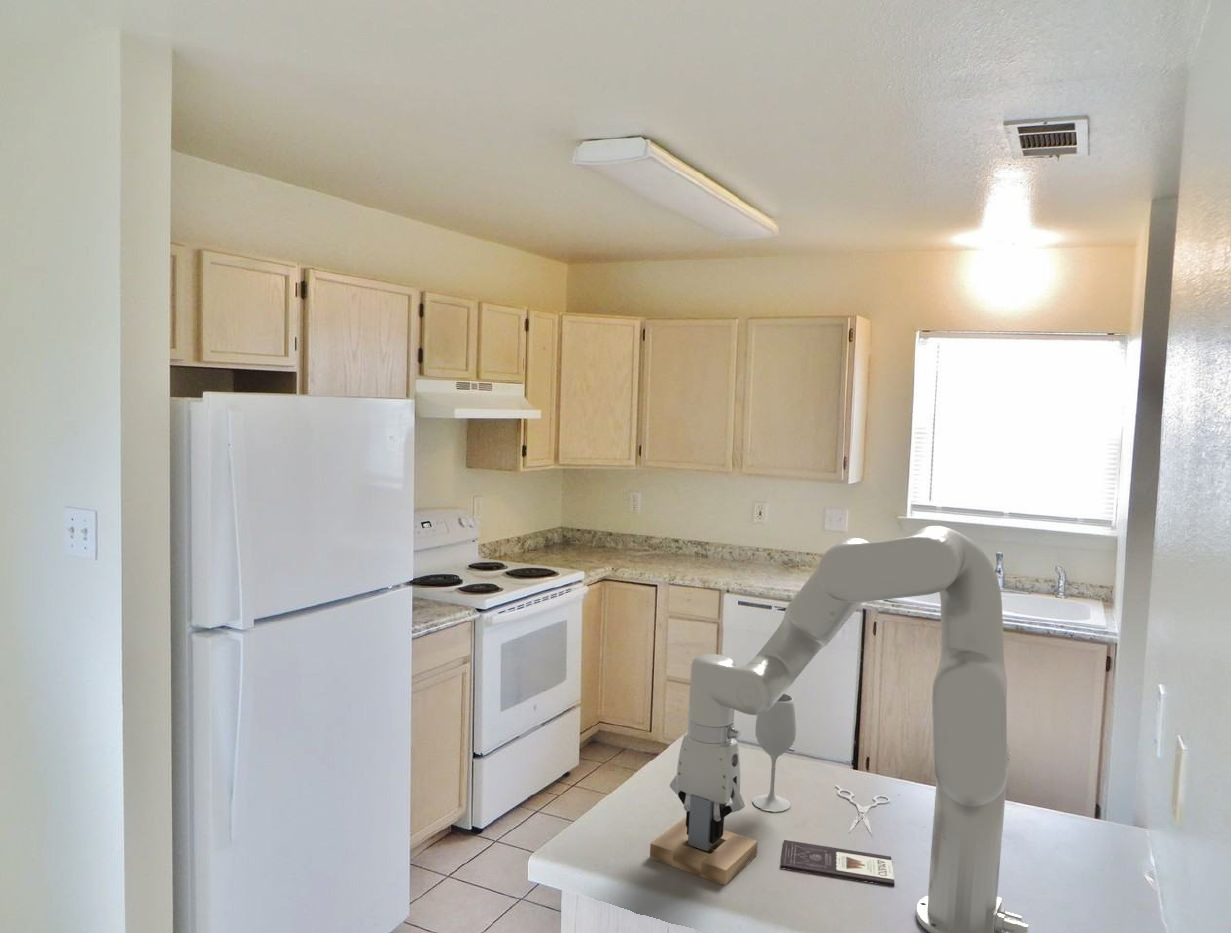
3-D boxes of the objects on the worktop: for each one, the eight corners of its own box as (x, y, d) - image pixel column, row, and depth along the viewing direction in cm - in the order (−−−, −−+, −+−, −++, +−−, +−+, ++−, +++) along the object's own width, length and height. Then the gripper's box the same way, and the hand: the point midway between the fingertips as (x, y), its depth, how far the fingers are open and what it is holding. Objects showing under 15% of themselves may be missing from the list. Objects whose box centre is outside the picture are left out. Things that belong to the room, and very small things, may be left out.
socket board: (756, 855, 151) (757, 840, 151) (725, 885, 141) (726, 870, 141) (684, 830, 159) (685, 816, 159) (649, 857, 149) (650, 843, 149)
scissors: (889, 793, 178) (891, 837, 159) (889, 796, 178) (891, 842, 159) (835, 784, 181) (830, 827, 162) (835, 788, 181) (830, 831, 162)
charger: (719, 840, 151) (722, 790, 150) (707, 850, 147) (710, 799, 146) (700, 834, 153) (703, 784, 152) (687, 844, 149) (690, 793, 148)
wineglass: (743, 798, 173) (749, 692, 172) (776, 792, 176) (782, 688, 175) (766, 815, 166) (772, 705, 165) (799, 809, 169) (805, 701, 168)
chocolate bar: (784, 839, 156) (891, 856, 152) (783, 844, 156) (890, 861, 152) (781, 864, 147) (894, 883, 143) (780, 870, 147) (894, 889, 143)
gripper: (765, 735, 147) (758, 842, 148) (677, 712, 156) (672, 813, 157) (746, 749, 141) (739, 861, 142) (655, 724, 150) (650, 829, 151)
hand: (704, 835), depth 150 cm, fingers closed on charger, 3 cm apart
